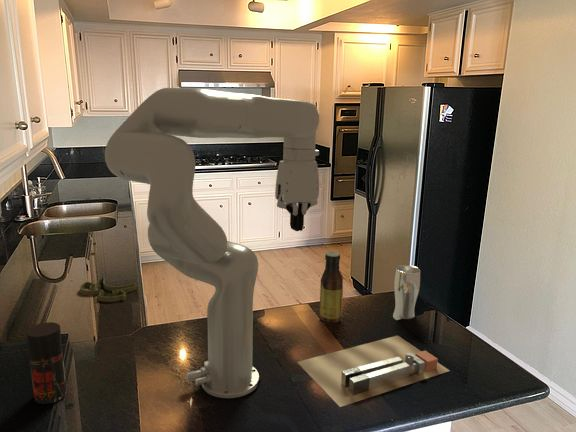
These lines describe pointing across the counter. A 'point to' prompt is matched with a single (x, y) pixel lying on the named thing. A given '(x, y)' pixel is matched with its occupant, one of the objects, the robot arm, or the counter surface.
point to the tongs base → (386, 375)
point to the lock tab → (428, 360)
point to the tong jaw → (368, 369)
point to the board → (331, 365)
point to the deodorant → (46, 361)
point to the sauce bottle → (331, 289)
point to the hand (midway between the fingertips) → (296, 229)
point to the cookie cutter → (117, 291)
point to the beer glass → (406, 291)
